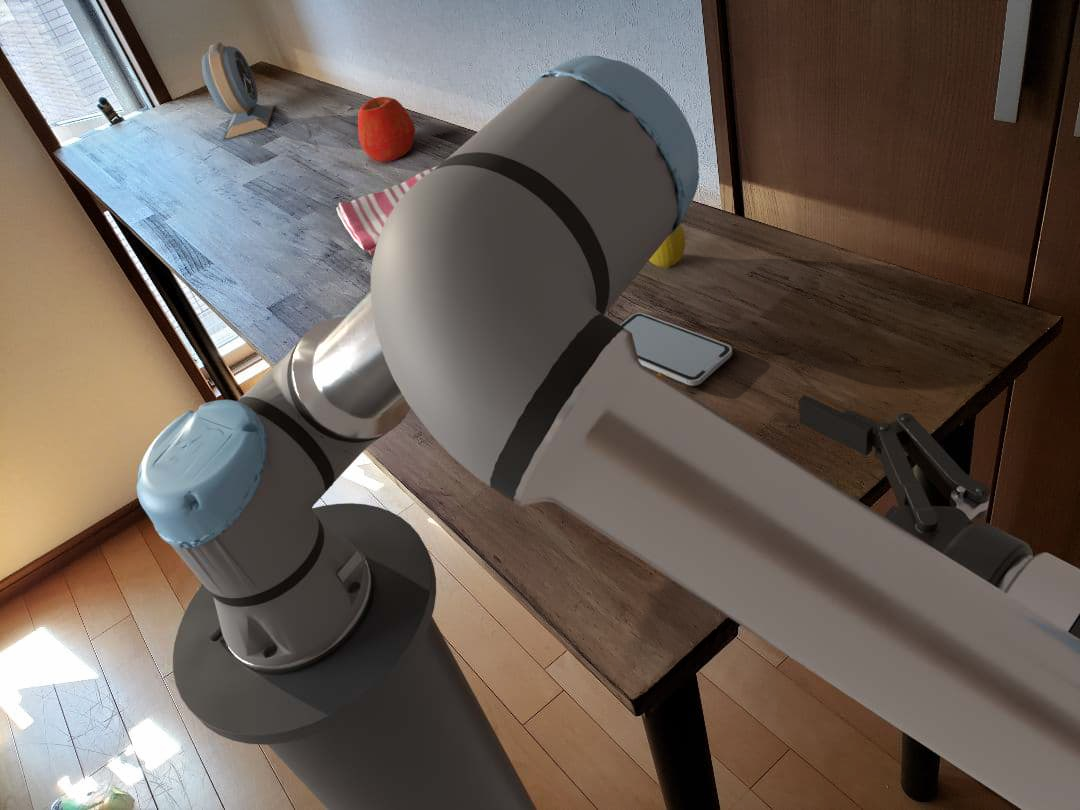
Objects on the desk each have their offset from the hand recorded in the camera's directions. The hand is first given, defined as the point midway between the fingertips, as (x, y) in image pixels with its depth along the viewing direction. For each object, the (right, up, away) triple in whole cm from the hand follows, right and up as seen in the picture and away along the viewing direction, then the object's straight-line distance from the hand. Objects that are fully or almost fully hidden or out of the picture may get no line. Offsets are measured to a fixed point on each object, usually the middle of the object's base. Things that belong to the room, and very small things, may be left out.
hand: (748, 454), depth 69 cm
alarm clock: (-84, +69, +124) cm, 164 cm away
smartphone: (-2, +10, +30) cm, 32 cm away
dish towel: (-38, +36, +71) cm, 88 cm away
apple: (-45, +52, +92) cm, 115 cm away
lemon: (0, +22, +43) cm, 48 cm away
